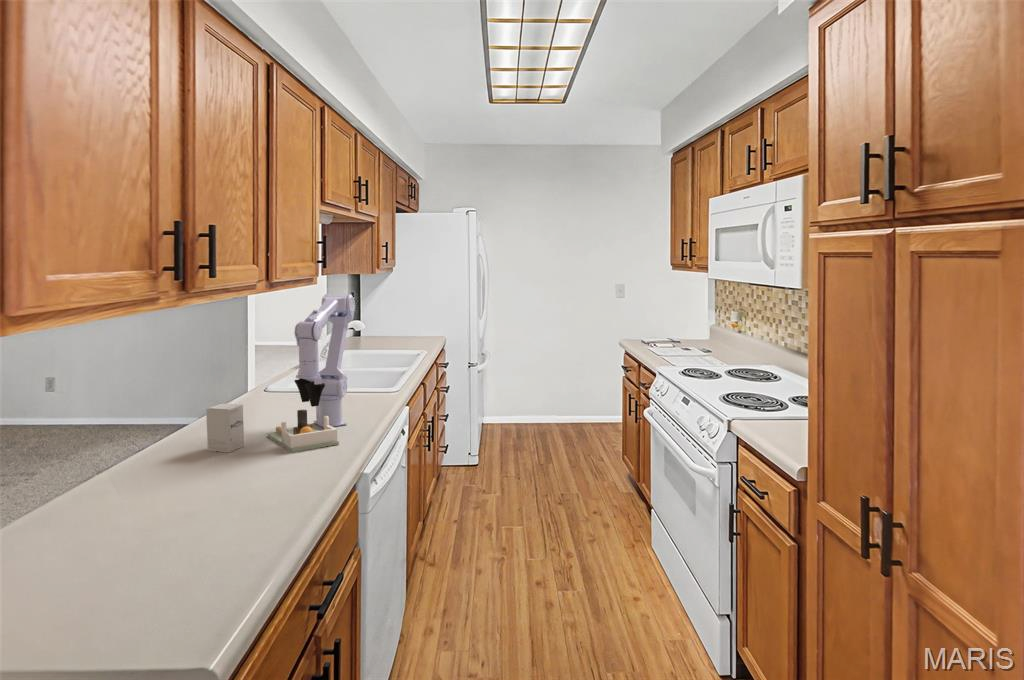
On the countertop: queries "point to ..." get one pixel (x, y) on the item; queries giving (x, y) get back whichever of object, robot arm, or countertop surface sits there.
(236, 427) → the supplement box
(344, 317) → the robot arm
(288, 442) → the pitch
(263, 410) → the countertop surface
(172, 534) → the countertop surface
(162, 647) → the countertop surface
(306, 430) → the ball
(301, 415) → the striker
